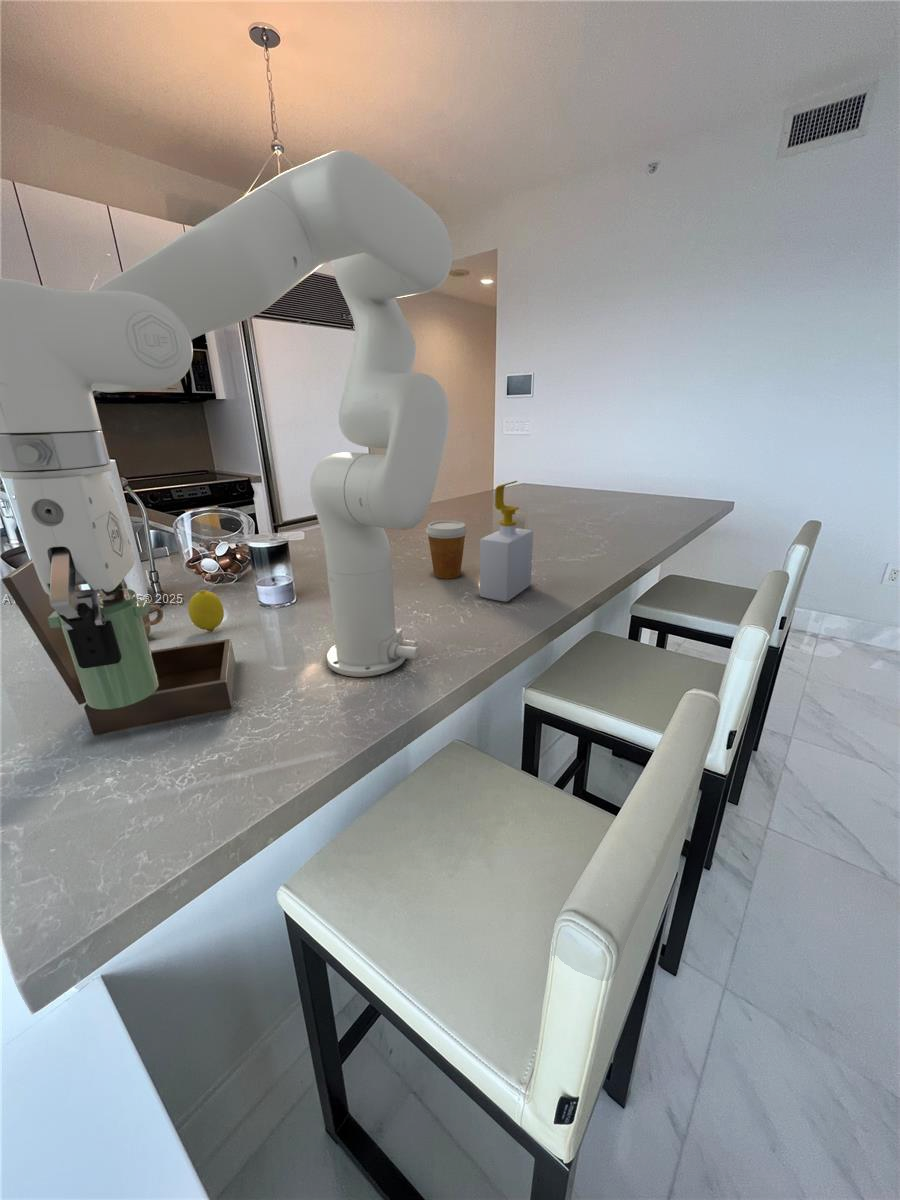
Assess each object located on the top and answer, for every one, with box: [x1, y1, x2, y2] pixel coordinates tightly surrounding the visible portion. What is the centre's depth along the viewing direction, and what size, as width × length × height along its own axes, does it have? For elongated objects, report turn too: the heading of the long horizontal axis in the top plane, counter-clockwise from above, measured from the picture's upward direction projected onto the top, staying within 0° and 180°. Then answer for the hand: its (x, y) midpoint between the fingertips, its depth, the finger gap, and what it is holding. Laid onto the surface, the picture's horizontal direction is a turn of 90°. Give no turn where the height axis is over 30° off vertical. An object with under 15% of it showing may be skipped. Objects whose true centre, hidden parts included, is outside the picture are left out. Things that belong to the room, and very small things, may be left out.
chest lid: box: [1, 558, 87, 706], centre depth 60 cm, size 16×14×1 cm
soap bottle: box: [479, 480, 534, 603], centre depth 101 cm, size 12×7×23 cm, turn 147°
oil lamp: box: [142, 604, 164, 638], centre depth 84 cm, size 13×8×5 cm, turn 151°
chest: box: [83, 638, 236, 736], centre depth 67 cm, size 16×14×5 cm
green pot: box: [48, 588, 159, 709], centre depth 47 cm, size 8×6×10 cm
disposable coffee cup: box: [425, 520, 468, 579], centre depth 114 cm, size 10×10×12 cm
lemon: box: [188, 589, 225, 633], centre depth 87 cm, size 6×6×8 cm
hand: (111, 646), depth 47 cm, fingers closed on green pot, 6 cm apart
